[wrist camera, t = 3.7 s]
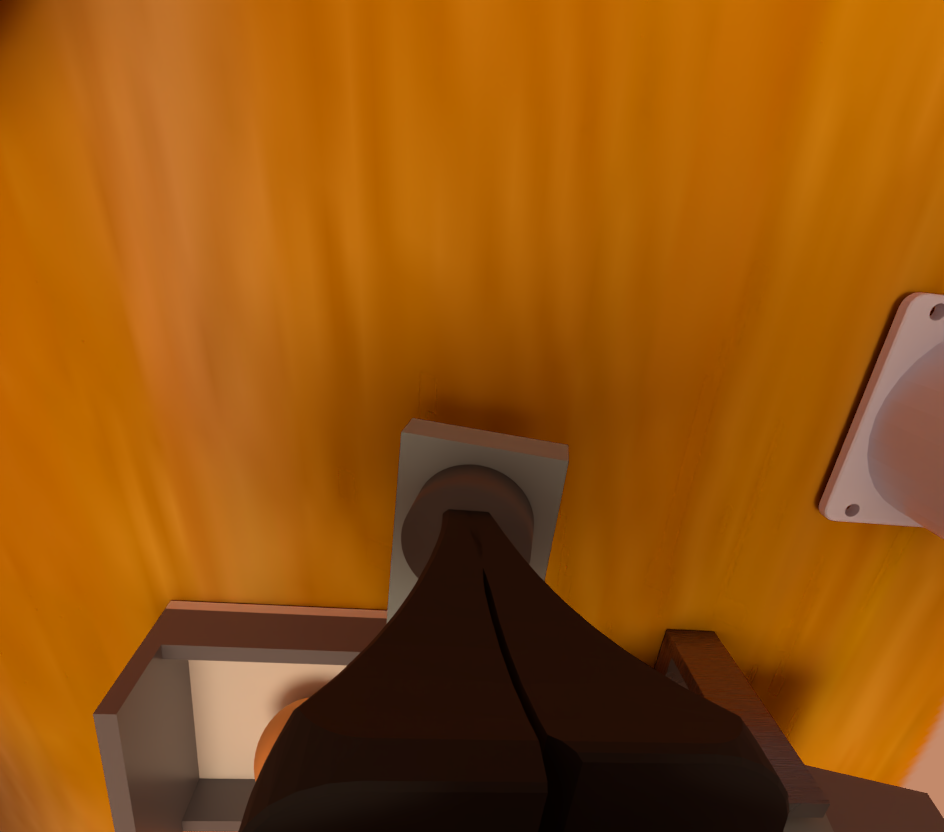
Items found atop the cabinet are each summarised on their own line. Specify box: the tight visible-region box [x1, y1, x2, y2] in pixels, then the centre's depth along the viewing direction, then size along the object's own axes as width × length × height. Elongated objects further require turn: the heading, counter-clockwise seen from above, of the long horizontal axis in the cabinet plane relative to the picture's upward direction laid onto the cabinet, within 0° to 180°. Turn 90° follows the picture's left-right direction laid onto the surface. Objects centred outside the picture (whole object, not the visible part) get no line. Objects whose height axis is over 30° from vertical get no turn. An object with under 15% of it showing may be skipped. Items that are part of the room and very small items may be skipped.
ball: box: [254, 698, 308, 782], centre depth 18 cm, size 4×4×4 cm
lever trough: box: [387, 418, 944, 832], centre depth 15 cm, size 18×17×4 cm
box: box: [93, 601, 387, 832], centre depth 19 cm, size 13×9×4 cm
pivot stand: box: [654, 630, 831, 818], centre depth 19 cm, size 2×9×6 cm, turn 173°
